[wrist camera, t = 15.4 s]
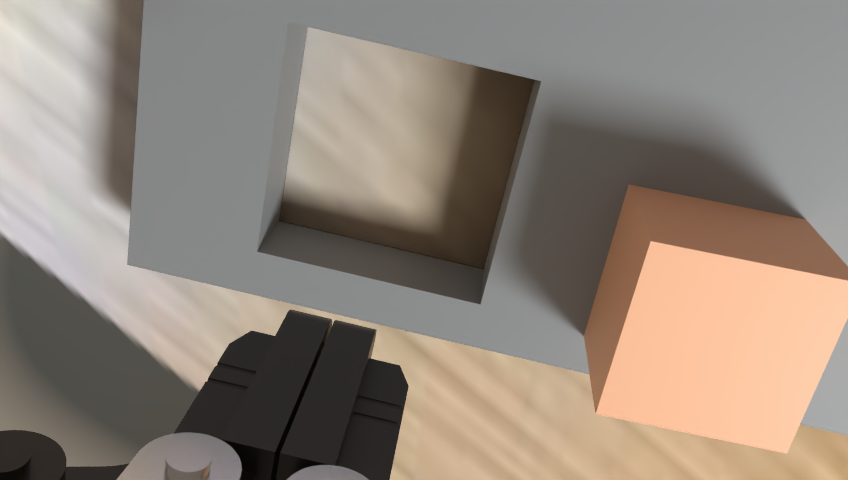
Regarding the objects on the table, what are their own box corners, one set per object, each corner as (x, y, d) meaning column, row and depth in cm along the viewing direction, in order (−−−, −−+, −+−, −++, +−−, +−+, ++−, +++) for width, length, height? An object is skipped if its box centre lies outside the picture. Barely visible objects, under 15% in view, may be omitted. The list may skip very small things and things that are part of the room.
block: (806, 219, 22) (863, 283, 19) (746, 369, 24) (786, 453, 21) (628, 184, 22) (650, 241, 19) (583, 336, 24) (595, 413, 21)
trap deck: (1504, -221, 19) (1861, -262, 14) (1056, 446, 27) (1179, 572, 22) (218, -511, 19) (113, -652, 14) (159, 233, 27) (79, 309, 22)
